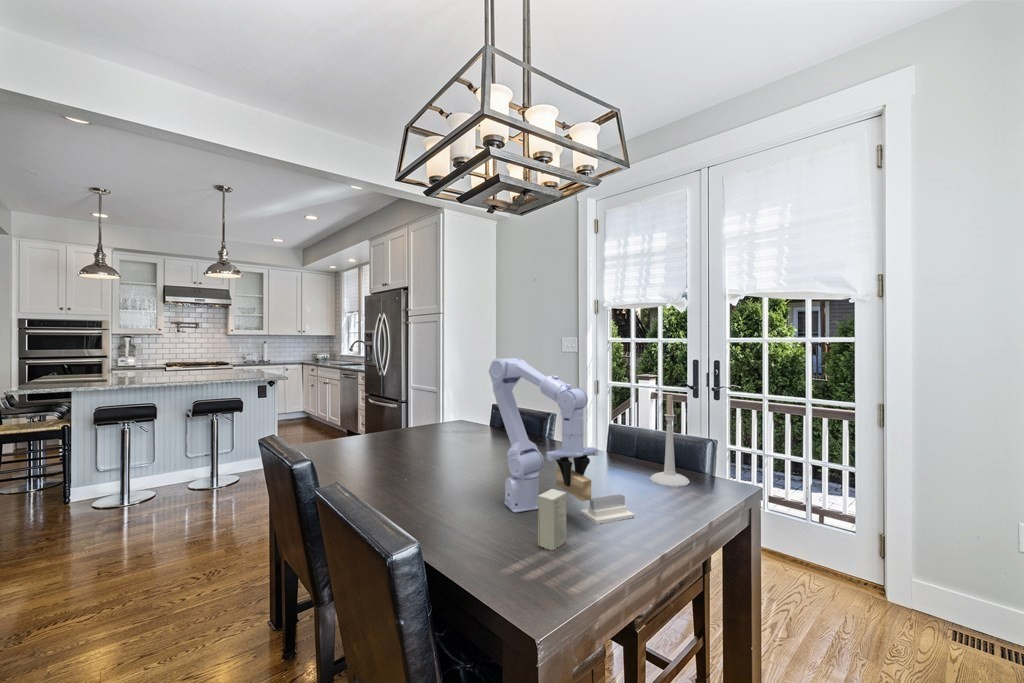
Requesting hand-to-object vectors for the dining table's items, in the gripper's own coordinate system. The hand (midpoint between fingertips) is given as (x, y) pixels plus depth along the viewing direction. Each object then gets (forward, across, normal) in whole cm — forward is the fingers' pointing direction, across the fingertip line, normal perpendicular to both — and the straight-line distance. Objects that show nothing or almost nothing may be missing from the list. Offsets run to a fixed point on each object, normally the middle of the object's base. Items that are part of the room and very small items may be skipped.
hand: (572, 484), depth 121 cm
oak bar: (+2, 0, 0) cm, 2 cm away
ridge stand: (+10, +11, 0) cm, 15 cm away
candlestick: (+10, +48, +18) cm, 52 cm away
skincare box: (+10, -11, -10) cm, 18 cm away
